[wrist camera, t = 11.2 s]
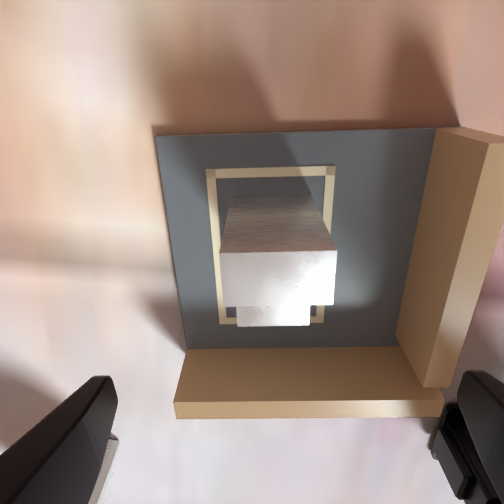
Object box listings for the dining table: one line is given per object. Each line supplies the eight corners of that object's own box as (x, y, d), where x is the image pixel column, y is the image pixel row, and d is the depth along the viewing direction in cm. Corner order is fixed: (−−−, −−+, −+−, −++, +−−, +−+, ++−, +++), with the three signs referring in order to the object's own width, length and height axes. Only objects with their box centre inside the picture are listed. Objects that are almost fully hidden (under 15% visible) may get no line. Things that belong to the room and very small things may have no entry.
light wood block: (306, 310, 23) (324, 398, 17) (238, 312, 23) (231, 399, 17) (311, 194, 19) (337, 250, 13) (231, 196, 19) (219, 253, 13)
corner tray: (461, 126, 18) (528, 142, 14) (407, 357, 25) (440, 416, 21) (157, 135, 18) (125, 153, 14) (190, 359, 26) (176, 419, 21)
